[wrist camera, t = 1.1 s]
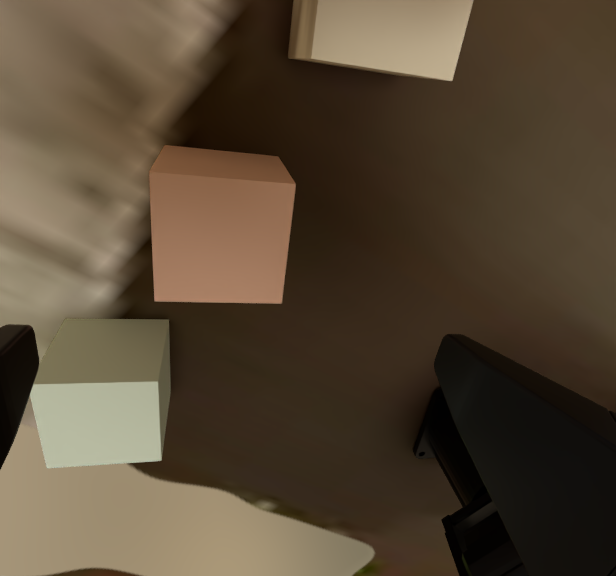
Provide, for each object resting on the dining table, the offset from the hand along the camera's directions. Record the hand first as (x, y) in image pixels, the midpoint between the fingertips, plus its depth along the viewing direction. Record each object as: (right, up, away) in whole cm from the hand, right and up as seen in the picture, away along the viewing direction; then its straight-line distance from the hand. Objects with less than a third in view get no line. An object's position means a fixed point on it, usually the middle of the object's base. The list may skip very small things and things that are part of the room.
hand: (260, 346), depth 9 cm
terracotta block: (-3, +5, +11) cm, 12 cm away
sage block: (-9, -2, +14) cm, 17 cm away
